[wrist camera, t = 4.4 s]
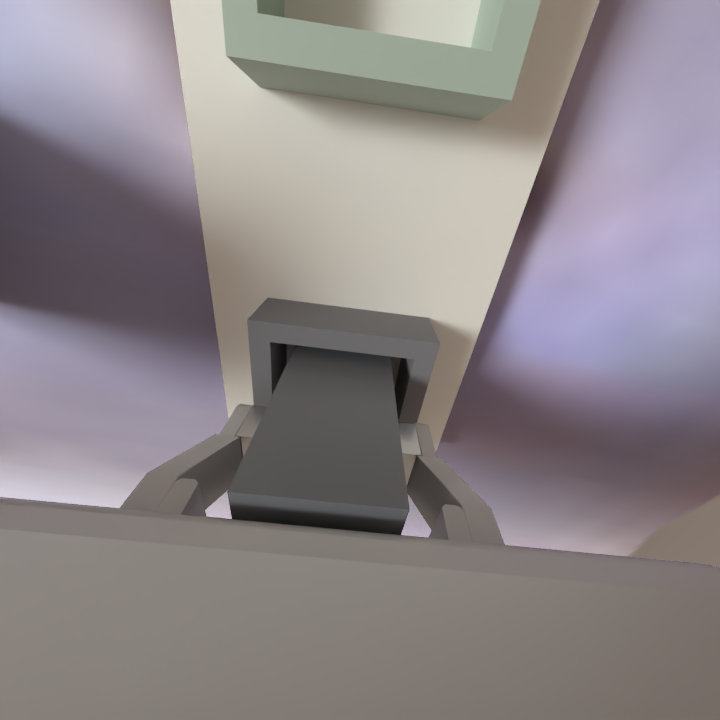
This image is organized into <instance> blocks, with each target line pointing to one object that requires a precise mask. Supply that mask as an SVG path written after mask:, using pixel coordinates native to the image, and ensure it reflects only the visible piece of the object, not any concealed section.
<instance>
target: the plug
mask: <svg viewBox="0 0 720 720" xmlns="http://www.w3.org/2000/svg"><path fill="white" fill-rule="evenodd" d="M227 493H228V498H229V504H230V510H231V515H232V519H236V520H246V521H257V522H267V523H278V524H288V525H299V526H309V527H319V528H330V529H340V530H351V531H361V532H372V533H383V534H393V535H401V532H402V530H403V527H404V524H405V521H406V518H407V515H408V512H409V503H408V495H407V487H406V479H405V471H404V463H403V455H402V447H401V439H400V431H399V423H398V415H397V407H396V399H395V391H394V383H393V375H392V367H391V359H390V356H382V355H374V354H365V353H357V352H349V351H340V350H332V349H324V348H315V347H307V346H299V345H295V347H294V349H293V352H292V354H291V356H290V358H289V360H288V362H287V365H286V367H285V369H284V371H283V373H282V375H281V377H280V380H279V382H278V384H277V386H276V388H275V390H274V392H273V395H272V397H271V399H270V401H269V403H268V405H267V408H266V410H265V412H264V414H263V416H262V418H261V420H260V423H259V425H258V427H257V429H256V431H255V433H254V436H253V438H252V440H251V442H250V444H249V446H248V448H247V451H246V453H245V455H244V457H243V459H242V461H241V464H240V466H239V468H238V470H237V472H236V474H235V476H234V479H233V481H232V483H231V485H230V487H229V489H228V491H227Z"/></svg>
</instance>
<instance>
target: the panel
mask: <svg viewBox="0 0 720 720" xmlns="http://www.w3.org/2000/svg"><path fill="white" fill-rule="evenodd" d="M170 2H171V9H172V17H173V24H174V31H175V38H176V45H177V52H178V59H179V67H180V74H181V81H182V88H183V95H184V102H185V110H186V117H187V124H188V131H189V138H190V145H191V152H192V160H193V167H194V174H195V181H196V188H197V195H198V203H199V210H200V217H201V224H202V231H203V238H204V245H205V253H206V260H207V267H208V274H209V281H210V288H211V295H212V303H213V310H214V317H215V324H216V331H217V338H218V346H219V353H220V360H221V367H222V374H223V381H224V388H225V396H226V403H227V410H228V417H229V418H230V416H231V415H232V413H233V411H234V410H235V408H236V406H237V405H239V404H240V403H241V404H248V405H257V406H265V407H267V405H268V403H269V401H270V399H271V397H272V395H273V392H274V390H275V388H276V386H277V384H278V382H279V380H280V377H281V375H282V373H283V371H284V369H285V367H286V365H287V362H288V360H289V358H290V356H291V354H292V352H293V349H294V347H295V345H299V346H307V347H315V348H324V349H332V350H340V351H349V352H357V353H365V354H374V355H382V356H390V359H391V367H392V375H393V383H394V391H395V399H396V407H397V415H398V421H399V422H409V423H421V424H427V425H428V426H429V429H430V433H431V437H432V441H433V444H434V448H435V452H436V451H437V448H438V445H439V443H440V440H441V437H442V434H443V432H444V429H445V426H446V423H447V421H448V418H449V415H450V412H451V410H452V407H453V404H454V401H455V398H456V396H457V393H458V390H459V387H460V385H461V382H462V379H463V376H464V374H465V371H466V368H467V365H468V363H469V360H470V357H471V354H472V352H473V349H474V346H475V343H476V341H477V338H478V335H479V332H480V330H481V327H482V324H483V321H484V319H485V316H486V313H487V310H488V308H489V305H490V302H491V299H492V297H493V294H494V291H495V288H496V285H497V283H498V280H499V277H500V274H501V272H502V269H503V266H504V263H505V261H506V258H507V255H508V252H509V250H510V247H511V244H512V241H513V239H514V236H515V233H516V230H517V228H518V225H519V222H520V219H521V217H522V214H523V211H524V208H525V206H526V203H527V200H528V197H529V195H530V192H531V189H532V186H533V184H534V181H535V178H536V175H537V172H538V170H539V167H540V164H541V161H542V159H543V156H544V153H545V150H546V148H547V145H548V142H549V139H550V137H551V134H552V131H553V128H554V126H555V123H556V120H557V117H558V115H559V112H560V109H561V106H562V104H563V101H564V98H565V95H566V93H567V90H568V87H569V84H570V82H571V79H572V76H573V73H574V71H575V68H576V65H577V62H578V59H579V57H580V54H581V51H582V48H583V46H584V43H585V40H586V37H587V35H588V32H589V29H590V26H591V24H592V21H593V18H594V15H595V13H596V10H597V7H598V4H599V2H600V0H170Z"/></svg>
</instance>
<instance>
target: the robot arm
mask: <svg viewBox="0 0 720 720" xmlns="http://www.w3.org/2000/svg"><path fill="white" fill-rule="evenodd" d="M266 408H267V407H265V406H257V405H248V404H241V403H240V404H239V405H237V406H236V408H235V410H234V411H233V413H232V415H231V416H230V418H229V419H228V421H227V423H226V424H225V426H224V428H223V429H222V431H221V433H220V434H215V435H213V436H211V437H209V438H208V439H206V440H204V441H202V442H201V443H199V444H197V445H195V446H194V447H192V448H190V449H188V450H187V451H185V452H183V453H181V454H180V455H178V456H176V457H174V458H173V459H171V460H169V461H167V462H166V463H164V464H162V465H160V466H159V467H157V468H155V469H153V470H152V471H150V472H148V473H147V474H146V475H145V476H144V478H143V479H142V480H141V482H140V483H139V484H138V485H137V487H136V488H135V489H134V490H133V492H132V493H131V494H130V496H129V497H128V498H127V499H126V501H125V502H124V503H123V505H122V506H121V507H120V508H109V507H99V506H88V505H78V504H67V503H57V502H46V501H36V500H25V499H15V498H4V497H0V720H720V568H718V567H715V566H712V565H706V564H699V563H690V562H678V561H668V560H657V559H646V558H635V557H625V556H614V555H604V554H593V553H583V552H572V551H562V550H551V549H541V548H530V547H520V546H509V545H505V544H504V541H503V539H502V536H501V533H500V531H499V528H498V526H497V523H496V520H495V518H494V515H493V512H492V510H491V508H490V507H489V506H488V505H487V504H486V503H485V502H484V501H483V500H482V499H481V498H480V497H479V496H478V495H477V494H476V493H475V492H474V491H473V490H472V489H471V488H470V487H469V486H468V485H467V484H466V483H465V482H464V481H463V480H462V479H461V478H460V477H459V476H458V475H457V474H456V473H455V472H454V471H453V470H452V469H451V468H450V467H449V466H448V465H447V464H446V463H445V462H444V461H443V460H442V459H441V458H437V456H436V452H435V448H434V444H433V441H432V437H431V433H430V429H429V426H428V425H427V424H421V423H409V422H399V421H398V423H399V431H400V439H401V447H402V455H403V463H404V471H405V479H406V487H407V493H408V495H409V496H410V498H411V499H412V501H413V502H414V504H415V505H416V507H417V508H418V510H419V511H420V513H421V514H422V516H423V518H424V519H425V521H426V522H427V524H428V525H429V527H430V528H431V530H432V531H431V533H430V536H429V538H425V537H415V536H404V535H393V534H383V533H372V532H361V531H351V530H340V529H330V528H319V527H309V526H299V525H288V524H278V523H267V522H257V521H246V520H236V519H225V518H215V517H206V513H205V510H206V509H207V508H208V507H209V506H210V505H211V504H212V503H213V502H215V501H216V500H217V499H218V498H219V497H220V496H221V495H222V494H224V493H225V492H226V491H227V490H228V489H229V487H230V485H231V483H232V481H233V479H234V476H235V474H236V472H237V470H238V468H239V466H240V464H241V461H242V459H243V457H244V455H245V453H246V451H247V448H248V446H249V444H250V442H251V440H252V438H253V436H254V433H255V431H256V429H257V427H258V425H259V423H260V420H261V418H262V416H263V414H264V412H265V410H266Z"/></svg>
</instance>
